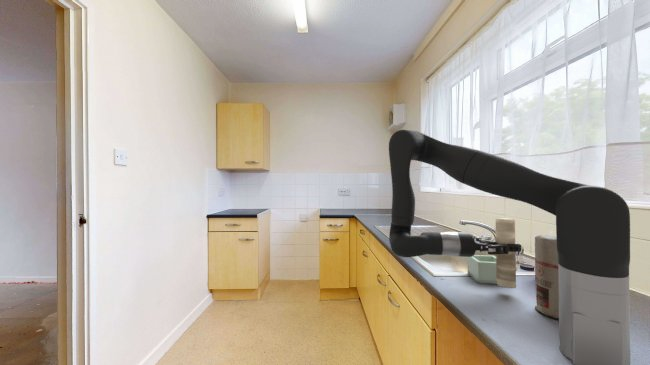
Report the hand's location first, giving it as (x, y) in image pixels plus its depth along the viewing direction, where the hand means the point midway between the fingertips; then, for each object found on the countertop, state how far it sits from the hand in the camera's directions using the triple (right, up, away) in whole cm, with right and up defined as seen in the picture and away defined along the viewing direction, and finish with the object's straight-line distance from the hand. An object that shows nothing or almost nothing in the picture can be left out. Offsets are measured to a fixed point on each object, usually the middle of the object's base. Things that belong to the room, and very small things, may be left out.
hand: (514, 245), depth 75 cm
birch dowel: (-3, -12, 0) cm, 12 cm away
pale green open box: (0, -15, +13) cm, 20 cm away
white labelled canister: (+2, -15, -11) cm, 19 cm away
